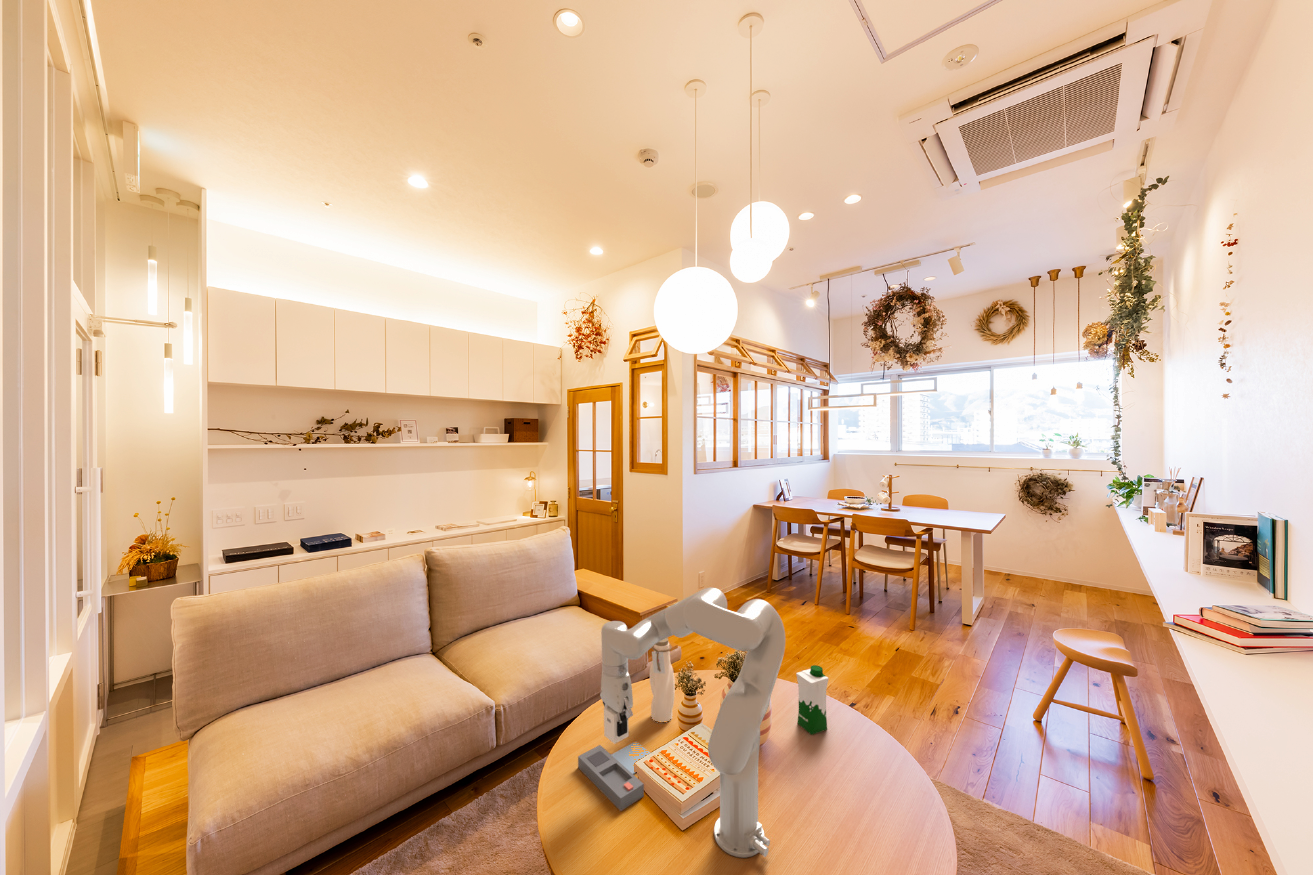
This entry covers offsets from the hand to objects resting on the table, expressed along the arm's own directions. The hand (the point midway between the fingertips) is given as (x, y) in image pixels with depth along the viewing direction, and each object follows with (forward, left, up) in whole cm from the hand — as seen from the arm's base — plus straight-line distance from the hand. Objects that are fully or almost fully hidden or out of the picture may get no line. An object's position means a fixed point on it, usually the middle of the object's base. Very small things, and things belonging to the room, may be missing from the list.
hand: (616, 729), depth 135 cm
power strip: (+3, 0, -17) cm, 17 cm away
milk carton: (-22, -68, -17) cm, 73 cm away
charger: (0, 0, -2) cm, 2 cm away
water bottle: (+16, -32, -17) cm, 40 cm away
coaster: (+6, -11, -17) cm, 21 cm away
